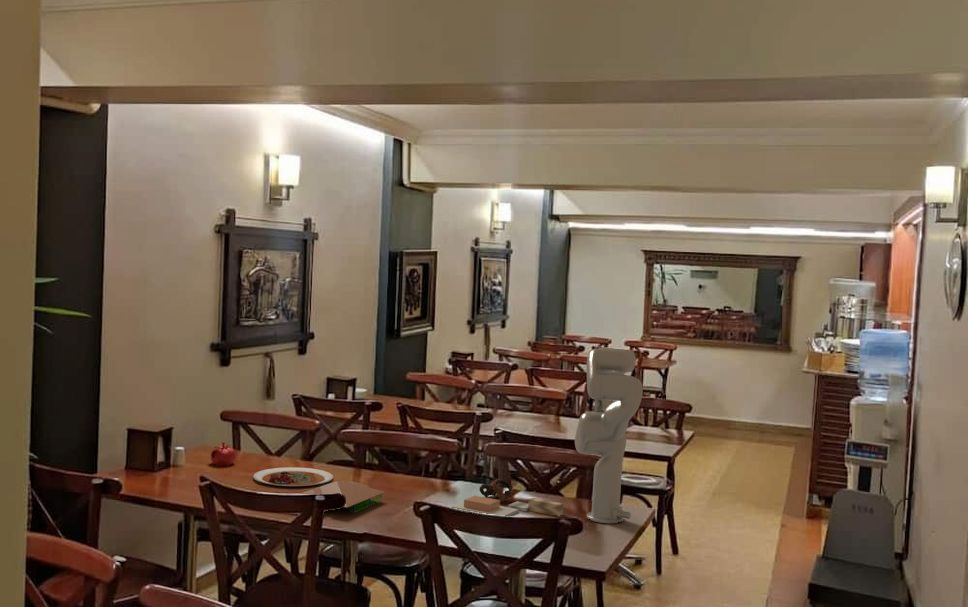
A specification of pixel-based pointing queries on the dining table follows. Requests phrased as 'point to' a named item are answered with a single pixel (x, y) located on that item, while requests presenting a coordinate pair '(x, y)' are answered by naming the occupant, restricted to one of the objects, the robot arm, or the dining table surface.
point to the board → (498, 511)
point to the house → (349, 492)
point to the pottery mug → (496, 489)
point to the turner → (539, 506)
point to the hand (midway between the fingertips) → (602, 427)
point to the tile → (481, 503)
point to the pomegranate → (223, 455)
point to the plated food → (291, 476)
